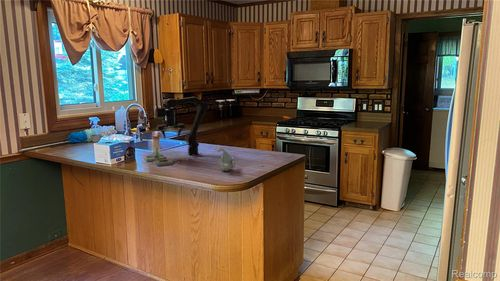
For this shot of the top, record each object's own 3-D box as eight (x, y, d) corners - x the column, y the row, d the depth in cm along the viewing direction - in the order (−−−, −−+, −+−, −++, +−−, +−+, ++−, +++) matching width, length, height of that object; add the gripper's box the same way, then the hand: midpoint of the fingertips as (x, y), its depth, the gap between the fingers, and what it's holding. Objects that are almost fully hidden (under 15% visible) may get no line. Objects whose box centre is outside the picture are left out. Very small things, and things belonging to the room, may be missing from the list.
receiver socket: (169, 161, 245) (169, 158, 245) (172, 164, 237) (172, 161, 237) (155, 163, 242) (154, 160, 241) (157, 166, 233) (157, 163, 233)
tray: (163, 156, 261) (163, 154, 261) (166, 159, 252) (166, 157, 252) (144, 158, 255) (144, 156, 255) (147, 161, 246) (147, 159, 246)
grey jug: (217, 167, 228) (216, 144, 226) (234, 167, 229) (233, 143, 227) (217, 174, 212) (216, 149, 209) (235, 173, 213) (234, 148, 210)
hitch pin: (161, 157, 256) (161, 135, 254) (158, 159, 251) (158, 136, 248) (153, 157, 257) (153, 134, 254) (150, 158, 251) (150, 135, 249)
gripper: (180, 115, 266) (181, 136, 268) (154, 116, 258) (155, 138, 261) (184, 116, 256) (185, 138, 258) (157, 118, 248) (159, 140, 251)
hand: (171, 139), depth 257 cm, fingers open, 9 cm apart
